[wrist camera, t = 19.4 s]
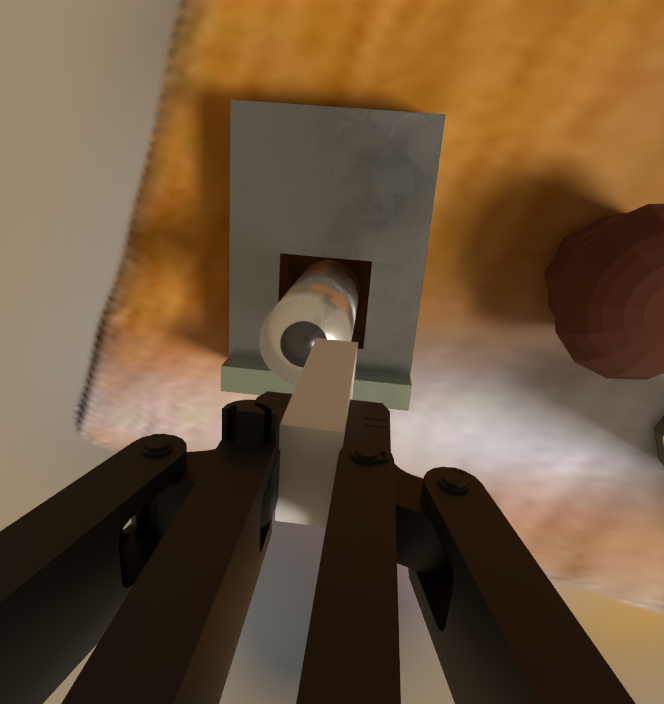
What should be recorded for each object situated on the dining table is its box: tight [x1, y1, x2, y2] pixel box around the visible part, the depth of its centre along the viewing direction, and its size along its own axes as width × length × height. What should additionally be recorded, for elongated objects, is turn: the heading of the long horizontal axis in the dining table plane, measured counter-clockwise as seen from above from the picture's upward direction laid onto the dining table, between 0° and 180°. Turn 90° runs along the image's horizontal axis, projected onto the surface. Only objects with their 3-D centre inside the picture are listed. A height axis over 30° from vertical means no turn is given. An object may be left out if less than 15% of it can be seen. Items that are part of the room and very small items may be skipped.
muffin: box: [545, 204, 664, 379], centre depth 33 cm, size 12×11×10 cm
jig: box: [221, 99, 445, 411], centre depth 36 cm, size 20×14×6 cm
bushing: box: [259, 260, 360, 385], centre depth 34 cm, size 5×5×14 cm
